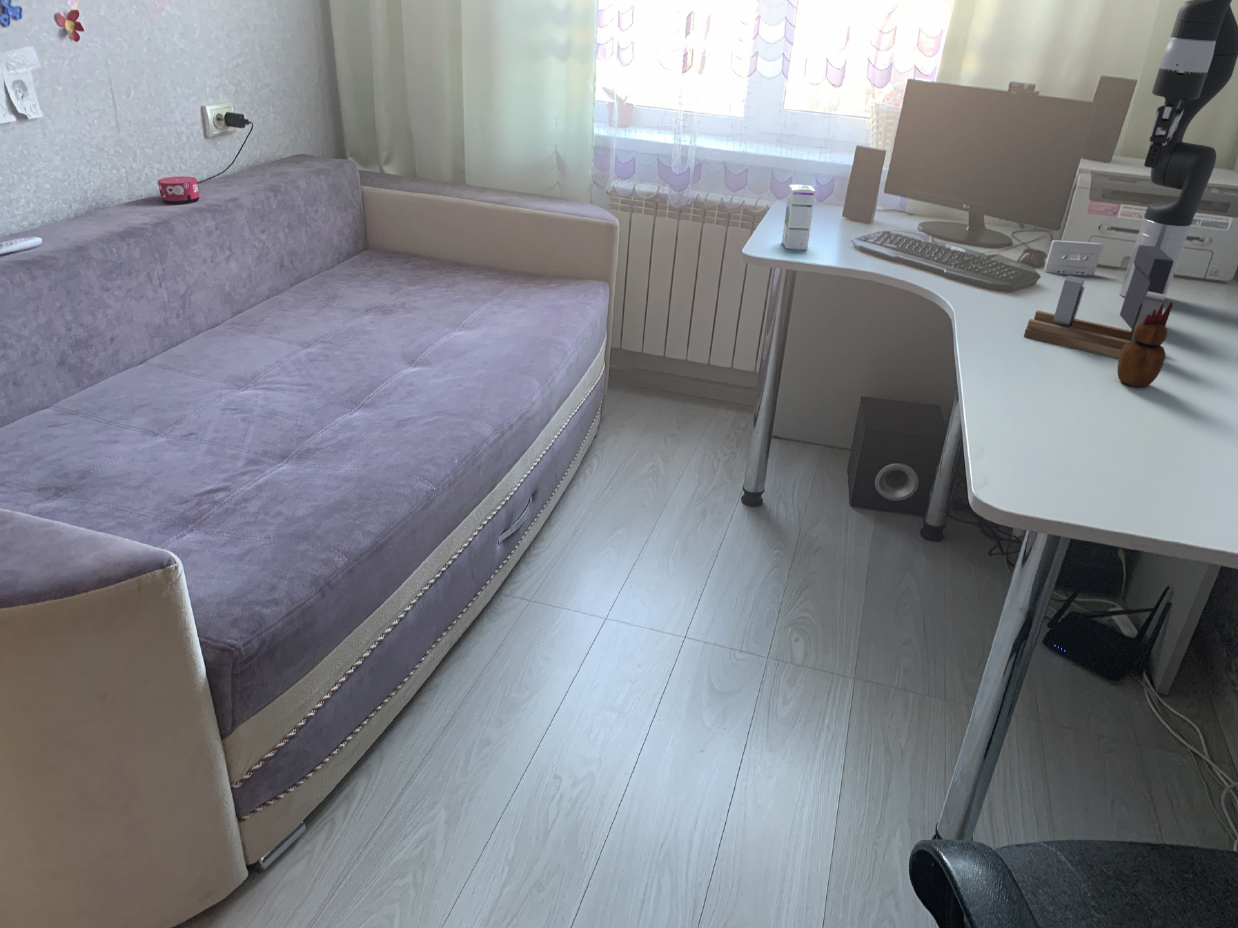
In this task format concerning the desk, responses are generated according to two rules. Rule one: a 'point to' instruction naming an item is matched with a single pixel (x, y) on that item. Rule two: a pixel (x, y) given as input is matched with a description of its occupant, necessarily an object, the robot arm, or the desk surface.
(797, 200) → the syrup box
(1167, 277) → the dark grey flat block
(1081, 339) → the rail
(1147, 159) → the robot arm
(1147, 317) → the wooden figurine
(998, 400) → the desk surface
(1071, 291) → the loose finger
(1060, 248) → the cassette
